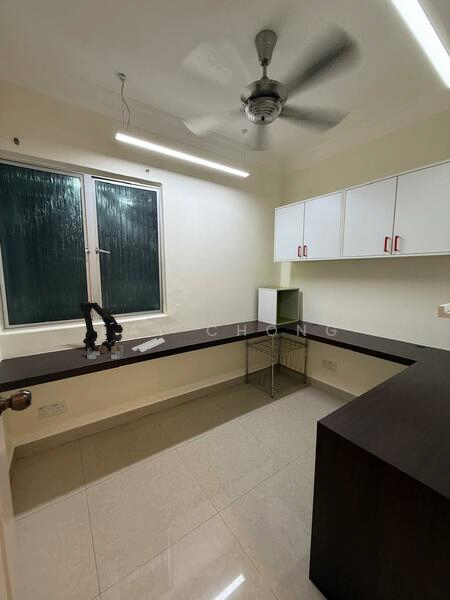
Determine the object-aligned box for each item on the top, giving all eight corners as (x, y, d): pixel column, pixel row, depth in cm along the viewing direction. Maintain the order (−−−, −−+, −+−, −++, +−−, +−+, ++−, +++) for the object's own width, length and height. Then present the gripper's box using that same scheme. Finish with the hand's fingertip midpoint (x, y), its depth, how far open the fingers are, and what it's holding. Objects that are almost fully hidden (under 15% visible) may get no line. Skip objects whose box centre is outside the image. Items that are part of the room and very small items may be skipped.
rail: (98, 353, 197) (98, 347, 196) (101, 351, 201) (101, 345, 200) (121, 353, 197) (121, 347, 196) (123, 351, 201) (123, 345, 200)
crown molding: (154, 340, 233) (154, 336, 232) (165, 342, 228) (165, 338, 228) (130, 350, 204) (130, 346, 204) (142, 352, 200) (142, 348, 199)
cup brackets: (86, 358, 184) (85, 349, 184) (91, 354, 193) (91, 346, 192) (120, 358, 185) (119, 349, 184) (124, 354, 194) (123, 346, 193)
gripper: (115, 335, 188) (116, 355, 190) (124, 329, 206) (125, 347, 208) (100, 335, 187) (101, 355, 189) (111, 329, 206) (112, 347, 208)
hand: (111, 350), depth 199 cm, fingers closed on rail, 4 cm apart
